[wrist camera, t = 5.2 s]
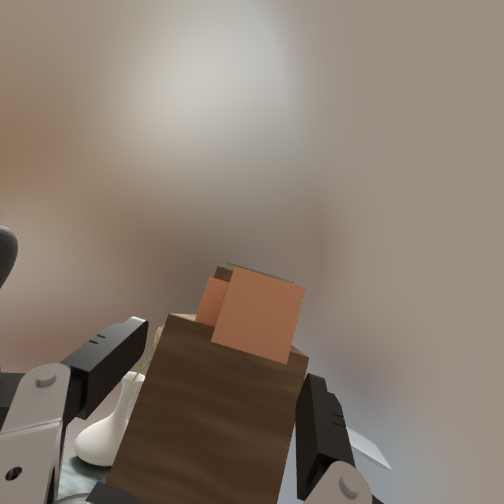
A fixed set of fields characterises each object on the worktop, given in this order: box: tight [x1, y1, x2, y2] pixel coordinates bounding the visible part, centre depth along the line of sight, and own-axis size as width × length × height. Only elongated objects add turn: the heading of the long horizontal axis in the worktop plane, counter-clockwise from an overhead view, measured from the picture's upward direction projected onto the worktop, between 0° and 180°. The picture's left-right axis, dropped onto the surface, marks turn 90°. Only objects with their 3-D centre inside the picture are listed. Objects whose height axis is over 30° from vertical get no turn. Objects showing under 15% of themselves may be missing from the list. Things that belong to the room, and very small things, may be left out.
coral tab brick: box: [195, 266, 305, 364], centre depth 22 cm, size 19×8×4 cm, turn 6°
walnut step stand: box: [105, 262, 309, 504], centre depth 29 cm, size 25×12×38 cm, turn 0°
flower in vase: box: [74, 325, 164, 466], centre depth 50 cm, size 13×11×25 cm
